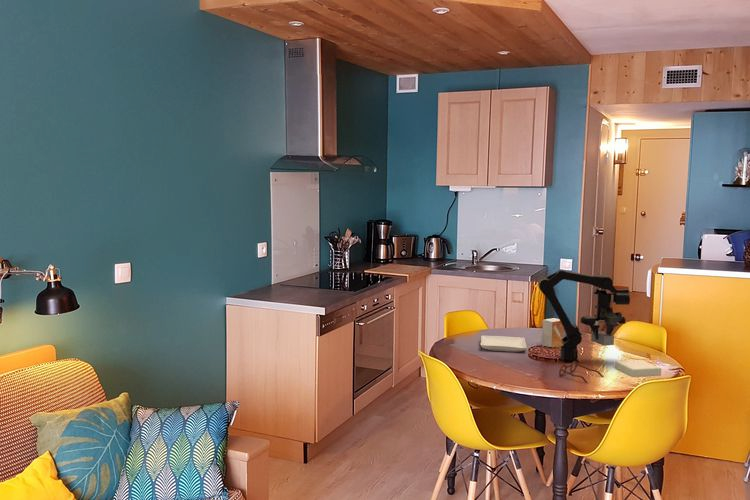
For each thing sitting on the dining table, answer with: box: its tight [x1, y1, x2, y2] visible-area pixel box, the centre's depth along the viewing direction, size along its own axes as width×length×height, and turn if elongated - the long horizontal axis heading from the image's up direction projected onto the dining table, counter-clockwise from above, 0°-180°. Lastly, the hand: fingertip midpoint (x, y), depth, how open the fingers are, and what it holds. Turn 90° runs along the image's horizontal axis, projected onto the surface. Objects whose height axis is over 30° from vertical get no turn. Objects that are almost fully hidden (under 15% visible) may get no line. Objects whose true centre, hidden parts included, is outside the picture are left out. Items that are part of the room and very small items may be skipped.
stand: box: [614, 359, 662, 378], centre depth 272 cm, size 13×13×3 cm
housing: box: [590, 330, 615, 346], centre depth 285 cm, size 5×9×5 cm, turn 18°
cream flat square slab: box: [480, 335, 528, 353], centre depth 312 cm, size 21×21×3 cm
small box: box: [541, 317, 564, 348], centre depth 313 cm, size 8×6×13 cm
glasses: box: [558, 361, 605, 384], centre depth 264 cm, size 13×13×5 cm
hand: (602, 339), depth 285 cm, fingers closed on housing, 5 cm apart
